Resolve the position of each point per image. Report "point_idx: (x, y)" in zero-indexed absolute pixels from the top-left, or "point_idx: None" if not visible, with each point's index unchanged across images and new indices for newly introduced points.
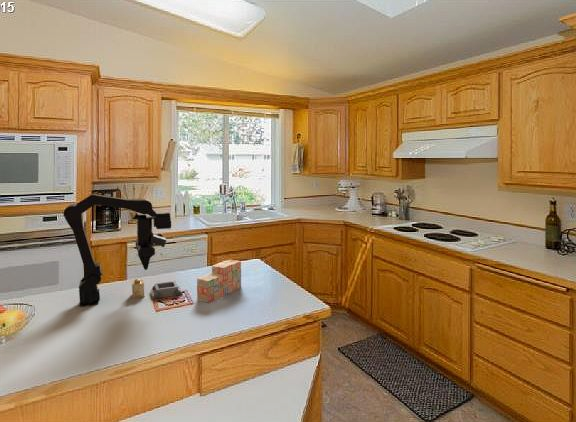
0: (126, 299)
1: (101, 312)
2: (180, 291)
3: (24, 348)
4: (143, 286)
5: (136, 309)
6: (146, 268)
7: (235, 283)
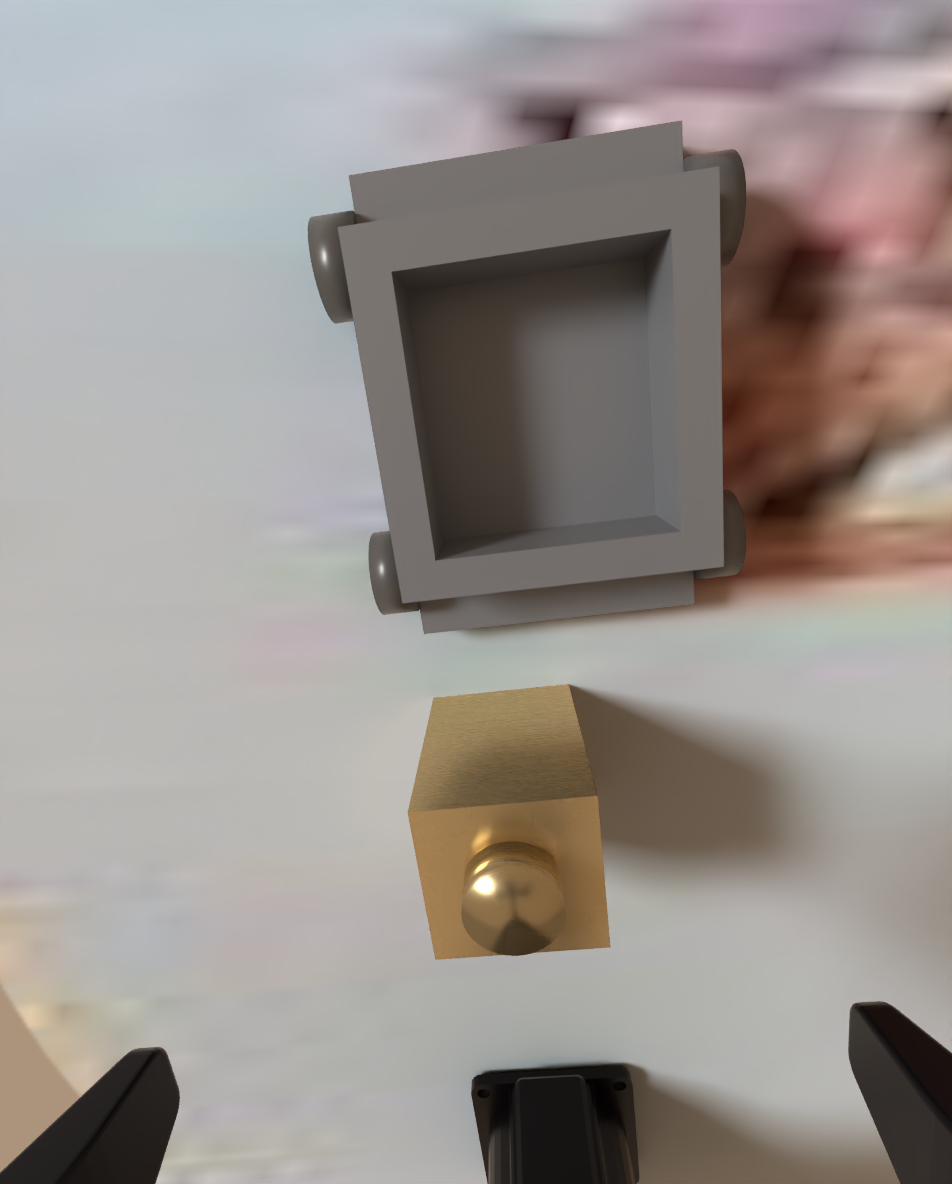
0: None
1: None
2: (734, 151)
3: None
4: (590, 768)
5: (943, 750)
6: (928, 1062)
7: None
